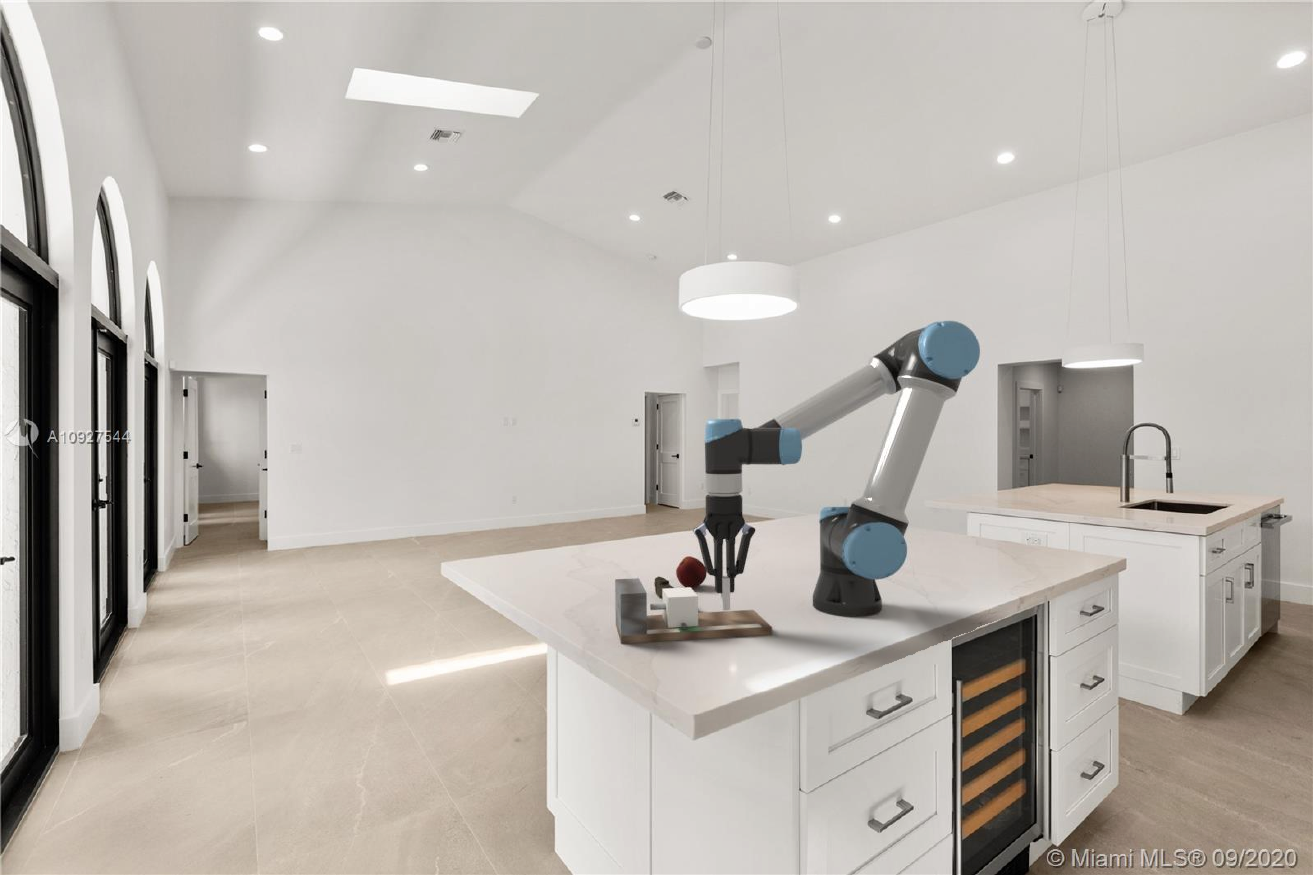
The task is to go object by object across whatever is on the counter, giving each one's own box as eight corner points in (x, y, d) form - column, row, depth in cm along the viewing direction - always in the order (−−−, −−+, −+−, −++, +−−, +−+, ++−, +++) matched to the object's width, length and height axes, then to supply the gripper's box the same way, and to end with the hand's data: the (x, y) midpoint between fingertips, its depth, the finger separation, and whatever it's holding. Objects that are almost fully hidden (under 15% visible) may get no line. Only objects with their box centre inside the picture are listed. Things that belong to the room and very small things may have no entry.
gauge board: (753, 616, 136) (753, 573, 136) (771, 634, 124) (771, 586, 124) (615, 624, 132) (615, 579, 131) (621, 643, 120) (620, 594, 120)
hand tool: (695, 612, 140) (695, 592, 140) (679, 614, 139) (679, 593, 139) (666, 592, 158) (666, 574, 158) (651, 594, 157) (651, 575, 157)
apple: (678, 583, 166) (677, 553, 166) (707, 584, 165) (707, 554, 165) (675, 590, 158) (674, 559, 158) (705, 591, 157) (705, 560, 157)
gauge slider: (690, 615, 131) (690, 587, 131) (701, 630, 122) (700, 599, 122) (648, 618, 130) (648, 589, 130) (655, 633, 121) (655, 601, 120)
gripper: (749, 491, 133) (749, 601, 134) (689, 492, 131) (690, 605, 132) (760, 494, 126) (761, 611, 126) (696, 496, 124) (697, 615, 124)
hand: (724, 608), depth 129 cm, fingers closed
